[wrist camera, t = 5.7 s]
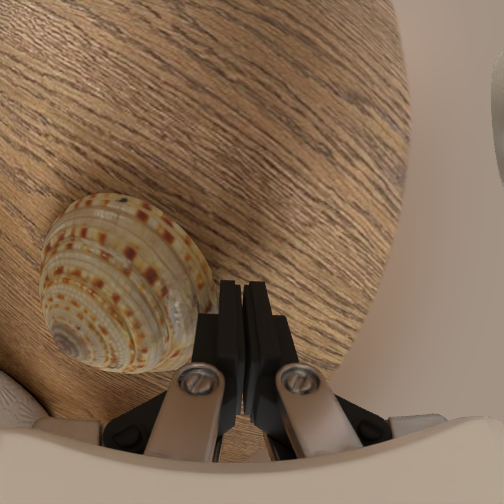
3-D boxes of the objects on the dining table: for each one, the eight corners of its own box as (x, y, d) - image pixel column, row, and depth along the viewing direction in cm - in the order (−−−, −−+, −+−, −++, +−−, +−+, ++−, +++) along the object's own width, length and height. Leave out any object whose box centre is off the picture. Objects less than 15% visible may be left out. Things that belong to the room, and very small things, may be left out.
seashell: (211, 397, 12) (45, 405, 8) (179, 323, 16) (51, 321, 12) (263, 242, 9) (-2, 222, 5) (208, 192, 13) (45, 175, 9)
